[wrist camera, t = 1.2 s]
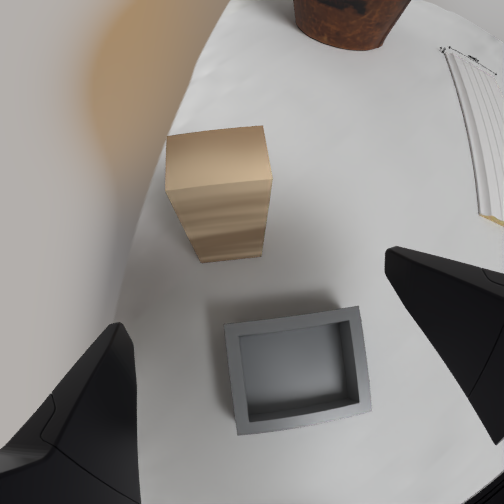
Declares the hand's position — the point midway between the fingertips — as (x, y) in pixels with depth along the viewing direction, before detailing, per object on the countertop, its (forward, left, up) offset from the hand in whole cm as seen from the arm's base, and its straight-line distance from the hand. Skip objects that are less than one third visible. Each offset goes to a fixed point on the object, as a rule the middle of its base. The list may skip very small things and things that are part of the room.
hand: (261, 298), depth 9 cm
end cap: (-3, -2, -13) cm, 13 cm away
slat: (+7, +1, -13) cm, 14 cm away
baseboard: (+19, -34, -13) cm, 41 cm away
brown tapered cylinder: (+38, -17, -13) cm, 43 cm away
